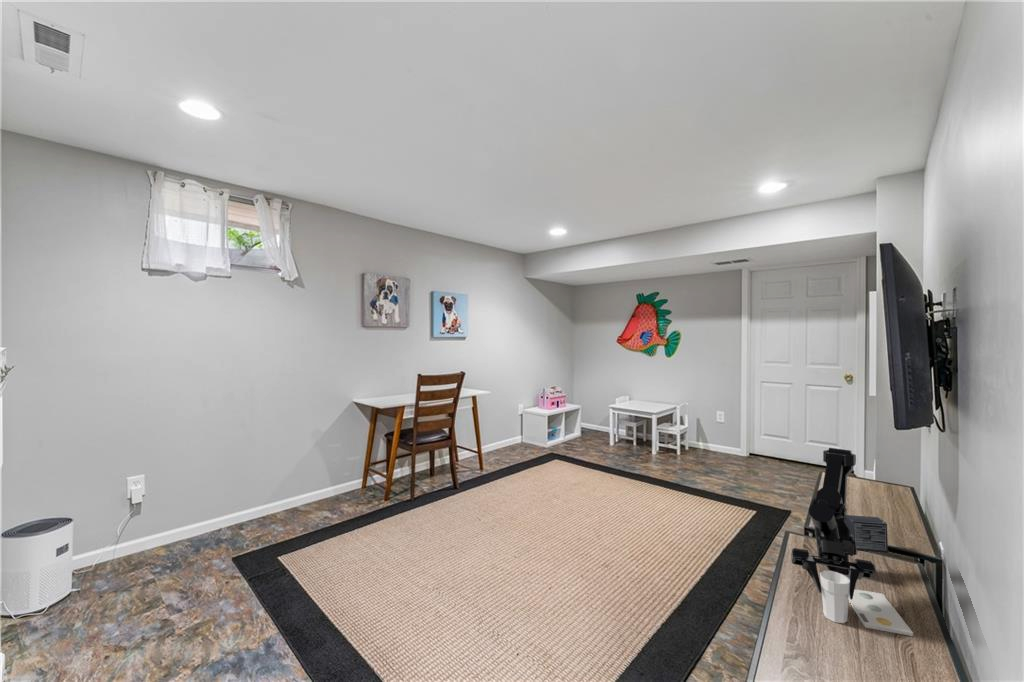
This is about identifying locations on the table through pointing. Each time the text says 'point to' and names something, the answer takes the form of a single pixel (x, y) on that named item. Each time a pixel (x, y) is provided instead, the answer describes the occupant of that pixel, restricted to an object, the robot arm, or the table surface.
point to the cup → (835, 595)
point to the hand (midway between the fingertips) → (835, 595)
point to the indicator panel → (878, 612)
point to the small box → (868, 533)
